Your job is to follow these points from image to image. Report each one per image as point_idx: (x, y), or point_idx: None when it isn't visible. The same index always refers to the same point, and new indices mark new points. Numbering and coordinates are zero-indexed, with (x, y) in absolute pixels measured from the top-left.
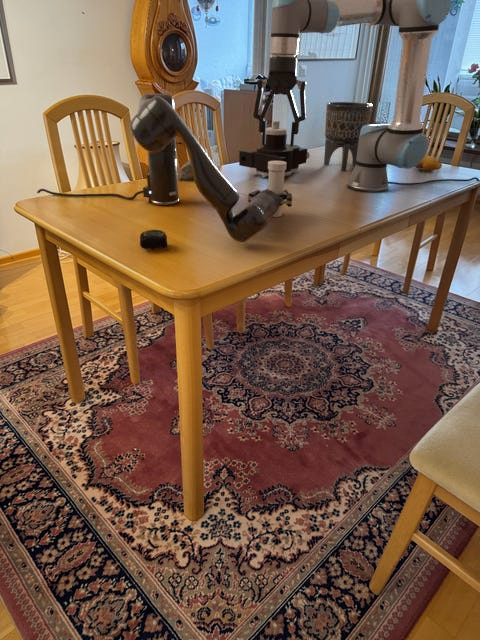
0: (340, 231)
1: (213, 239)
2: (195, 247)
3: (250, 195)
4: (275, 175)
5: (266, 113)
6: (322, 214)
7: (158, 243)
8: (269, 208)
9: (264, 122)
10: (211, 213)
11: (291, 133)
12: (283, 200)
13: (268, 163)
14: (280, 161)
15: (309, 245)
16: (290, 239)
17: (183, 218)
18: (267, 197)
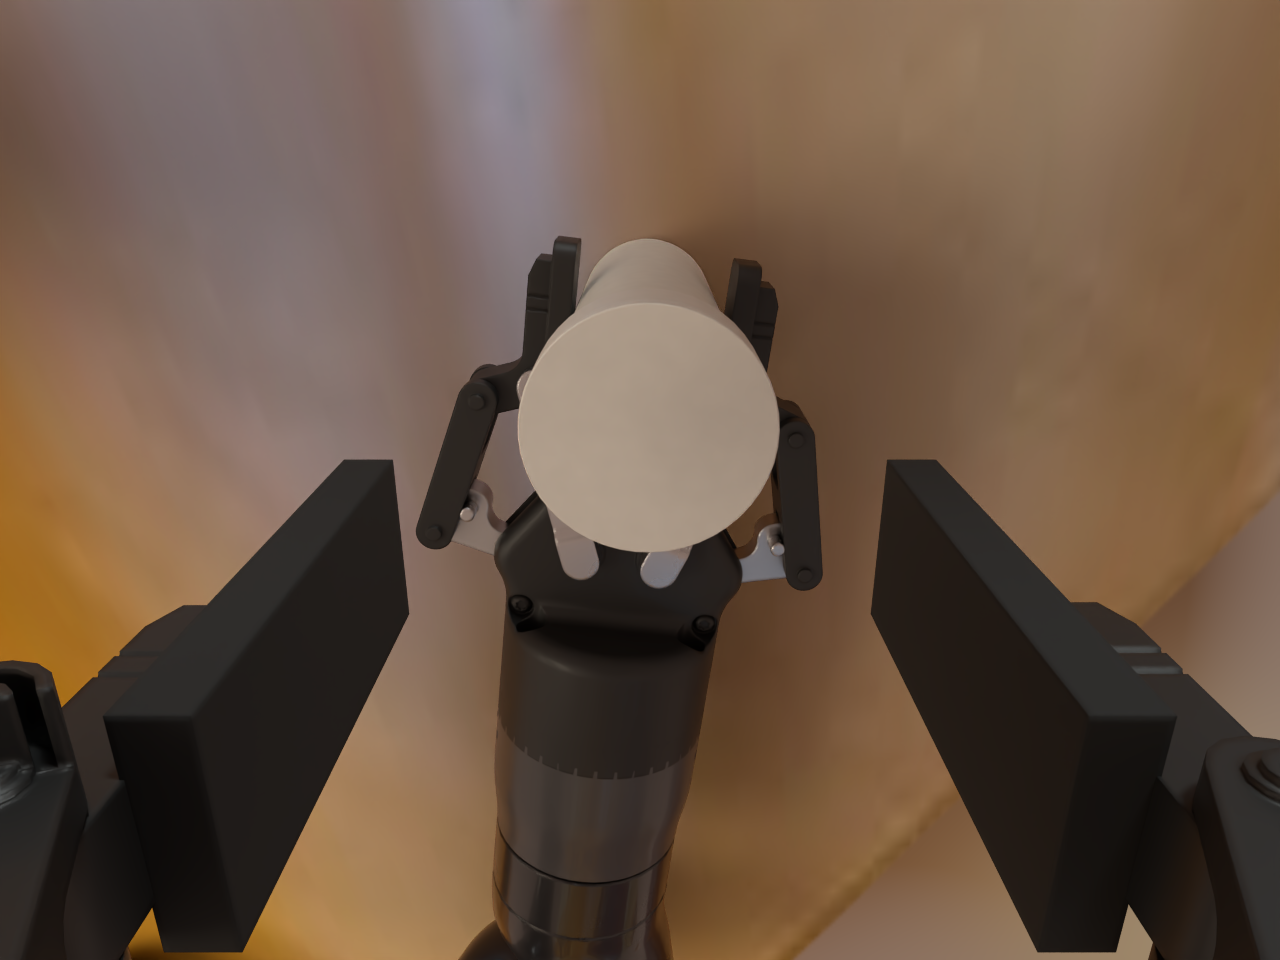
0: (1133, 567)
1: (370, 844)
2: (324, 948)
3: (441, 544)
4: None
5: (47, 953)
6: (1063, 185)
7: None
8: (665, 873)
9: (222, 922)
10: (150, 393)
11: (948, 761)
12: (744, 573)
13: (532, 481)
14: (686, 355)
15: (905, 819)
16: (798, 761)
17: (18, 554)
18: (634, 835)
